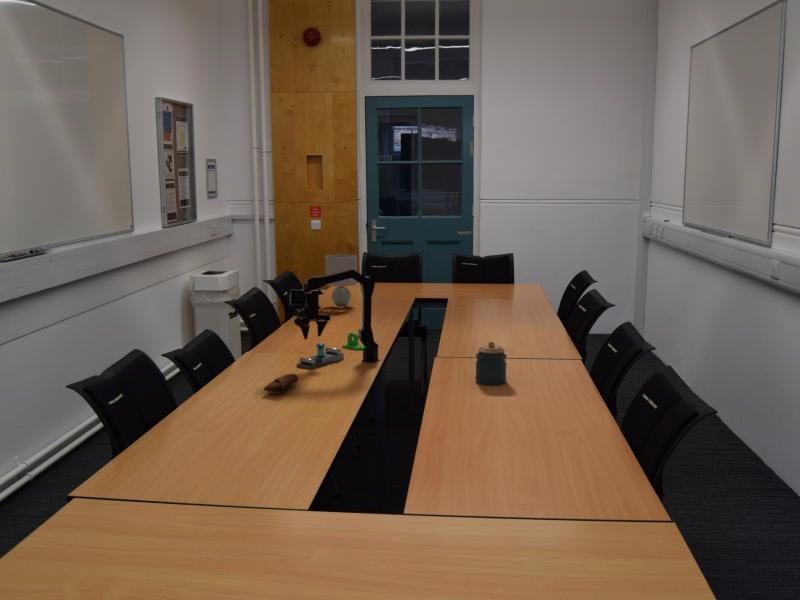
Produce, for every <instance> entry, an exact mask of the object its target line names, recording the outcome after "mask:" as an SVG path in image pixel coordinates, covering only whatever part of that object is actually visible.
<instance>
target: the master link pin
mask: <svg viewBox="0 0 800 600" xmlns="http://www.w3.org/2000/svg"><path fill="white" fill-rule="evenodd" d="M315 347H317V350H316V351H317V354H316V355H317V358H324V353H325V348H326V343H322V342H319V343H316V345H315Z"/></svg>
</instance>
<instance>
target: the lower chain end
mask: <svg viewBox="0 0 800 600" xmlns="http://www.w3.org/2000/svg"><path fill="white" fill-rule="evenodd" d="M333 363H334V362H333V360H329V361H326V362H322V363H321V362H316V360H315V359H309V358H308V357H299V361H298V363H296V368H301V369H307V370H312V369H316V368H319V367H322V366H326V365H329V364H333Z"/></svg>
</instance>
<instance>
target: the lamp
mask: <svg viewBox="0 0 800 600" xmlns="http://www.w3.org/2000/svg"><path fill="white" fill-rule="evenodd" d="M357 262H358V256H357V255H356V254H329V255H325V256H324V265H325V267H324V268H325V269H324V270H325V271H324V272H325V274H324V275H329V274H333V273H337V272H342V271H346V270H349V269H354V270H355V271H356V272H358V266H357V265H358V263H357ZM357 285H358V281H356V280H354V279H353V278H350V279H346V280H342V281H338V282H334V283H330V284H327V285H326V286H330V287H336V288H334V289H333V291H332V293H331V297H330V298H331V301H332V303H333V305H334V306H338V307H343V306H346V307H347V306H349V304H350V303H351V301H352V293H351V291H350V289H348V288H347V287H351V286H357Z"/></svg>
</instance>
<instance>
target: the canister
mask: <svg viewBox="0 0 800 600" xmlns="http://www.w3.org/2000/svg"><path fill="white" fill-rule="evenodd" d="M487 343H488V344H487V345H485V344H484V345H481V346H480V347H478V348H477V353H476V354H475V357H476V361H475V377H474V378H475V379H474V380H475V383H476V384H478V385H482V386H489V387H490V386H491V387H494V386H495V387H496V386H502V385H505V384H506V382H507V364H508V363H507V362H506V360H507V356H508V355H507V354H506V353H505V352H506V350H505V348H503V347H502V346H501V345H496V344H495V342H494V341H489V342H487Z"/></svg>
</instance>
